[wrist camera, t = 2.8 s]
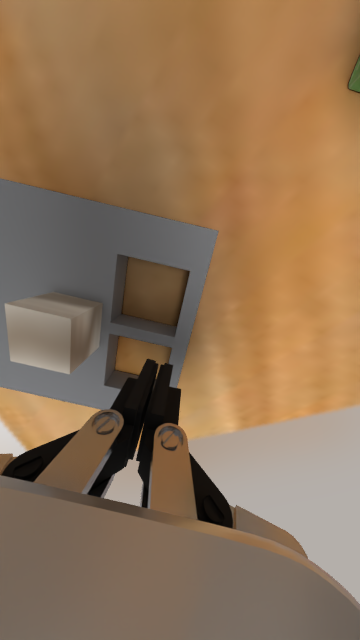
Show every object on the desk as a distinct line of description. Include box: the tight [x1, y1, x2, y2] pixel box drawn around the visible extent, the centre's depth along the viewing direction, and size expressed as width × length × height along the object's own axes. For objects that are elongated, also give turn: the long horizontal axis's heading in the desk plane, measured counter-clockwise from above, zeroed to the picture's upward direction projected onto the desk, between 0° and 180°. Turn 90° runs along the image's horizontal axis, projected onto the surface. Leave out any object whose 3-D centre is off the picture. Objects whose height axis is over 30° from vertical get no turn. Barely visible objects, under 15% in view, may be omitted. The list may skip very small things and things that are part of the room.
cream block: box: [5, 292, 103, 374], centre depth 13 cm, size 4×4×4 cm
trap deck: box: [0, 179, 218, 410], centre depth 15 cm, size 18×21×5 cm
